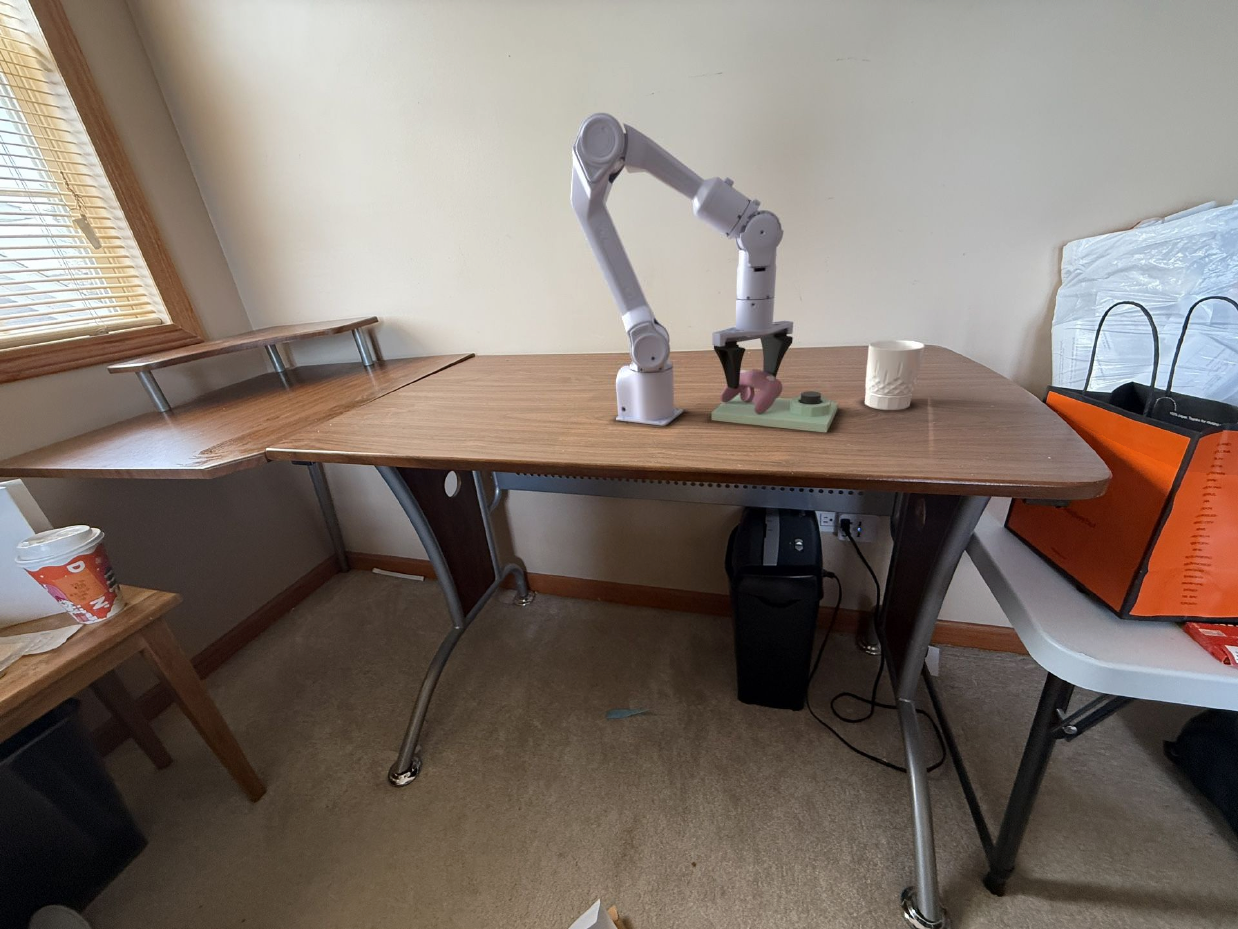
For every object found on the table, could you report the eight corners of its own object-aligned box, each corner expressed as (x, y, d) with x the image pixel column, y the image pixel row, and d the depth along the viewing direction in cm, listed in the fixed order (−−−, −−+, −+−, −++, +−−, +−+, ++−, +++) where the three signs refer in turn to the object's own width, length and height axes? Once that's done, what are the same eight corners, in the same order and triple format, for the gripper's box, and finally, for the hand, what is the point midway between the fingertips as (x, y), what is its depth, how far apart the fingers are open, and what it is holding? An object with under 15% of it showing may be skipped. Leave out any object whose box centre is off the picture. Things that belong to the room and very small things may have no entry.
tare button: (798, 405, 76) (799, 395, 75) (802, 399, 78) (803, 390, 77) (818, 406, 74) (819, 397, 74) (821, 401, 77) (822, 391, 76)
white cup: (923, 410, 77) (936, 347, 73) (873, 413, 77) (883, 351, 73) (898, 396, 84) (908, 338, 80) (852, 399, 84) (860, 342, 80)
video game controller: (774, 420, 78) (791, 379, 77) (756, 413, 76) (773, 371, 74) (734, 406, 86) (748, 368, 85) (716, 399, 84) (731, 361, 82)
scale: (711, 420, 80) (711, 403, 79) (731, 401, 88) (732, 385, 87) (826, 433, 71) (828, 414, 70) (837, 410, 80) (839, 393, 79)
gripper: (774, 291, 80) (769, 371, 86) (701, 301, 75) (701, 386, 80) (805, 293, 74) (798, 379, 80) (729, 304, 69) (726, 395, 74)
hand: (751, 383), depth 80 cm, fingers open, 7 cm apart
